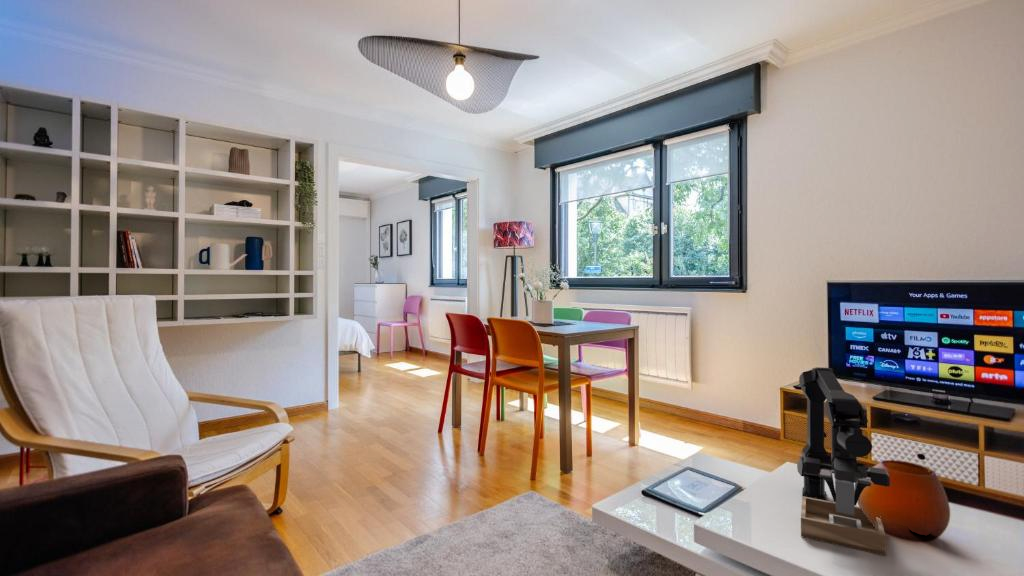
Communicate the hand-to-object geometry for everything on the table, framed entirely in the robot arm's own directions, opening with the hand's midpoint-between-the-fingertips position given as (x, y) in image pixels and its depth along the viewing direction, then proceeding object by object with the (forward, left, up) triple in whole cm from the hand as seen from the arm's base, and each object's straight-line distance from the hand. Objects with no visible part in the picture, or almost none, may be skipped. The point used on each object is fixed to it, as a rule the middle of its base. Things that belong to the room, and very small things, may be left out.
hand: (844, 503), depth 128 cm
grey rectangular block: (0, 0, -2) cm, 2 cm away
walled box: (-2, -1, -9) cm, 9 cm away
